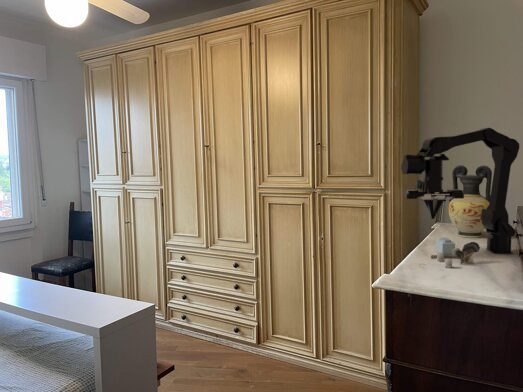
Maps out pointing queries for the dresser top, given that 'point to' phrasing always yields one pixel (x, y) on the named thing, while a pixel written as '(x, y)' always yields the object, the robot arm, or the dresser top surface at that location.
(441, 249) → the block
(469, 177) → the amphora
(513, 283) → the dresser top surface
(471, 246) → the eagle figurine
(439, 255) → the pin seat fixture
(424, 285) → the dresser top surface
